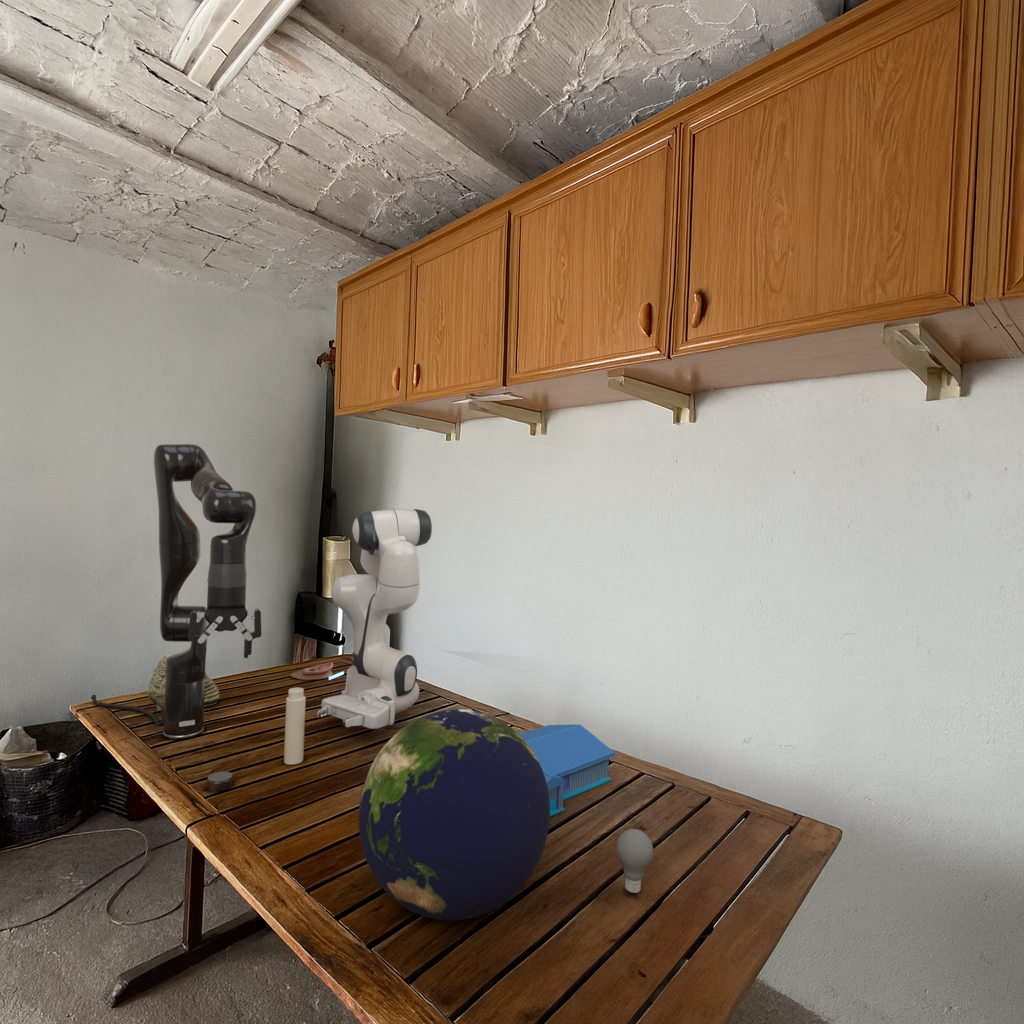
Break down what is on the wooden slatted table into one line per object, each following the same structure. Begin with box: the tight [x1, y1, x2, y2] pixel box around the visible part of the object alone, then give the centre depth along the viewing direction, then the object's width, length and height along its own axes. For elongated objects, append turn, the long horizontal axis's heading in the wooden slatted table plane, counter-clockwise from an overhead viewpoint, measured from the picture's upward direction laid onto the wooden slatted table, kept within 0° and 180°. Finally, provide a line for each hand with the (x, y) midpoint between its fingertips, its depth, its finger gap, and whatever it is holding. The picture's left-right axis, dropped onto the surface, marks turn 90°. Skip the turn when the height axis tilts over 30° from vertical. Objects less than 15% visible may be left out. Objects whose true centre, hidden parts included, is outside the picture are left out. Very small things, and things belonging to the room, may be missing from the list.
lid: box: [206, 771, 233, 793], centre depth 136 cm, size 5×5×2 cm
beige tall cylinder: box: [283, 687, 307, 765], centre depth 151 cm, size 4×4×17 cm
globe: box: [358, 708, 551, 922], centre depth 100 cm, size 30×30×30 cm
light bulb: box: [615, 828, 654, 894], centre depth 106 cm, size 6×6×10 cm
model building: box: [518, 723, 615, 817], centre depth 141 cm, size 39×24×10 cm, turn 132°
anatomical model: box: [290, 661, 334, 681], centre depth 221 cm, size 13×4×12 cm
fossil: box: [147, 654, 221, 712], centre depth 185 cm, size 9×18×15 cm, turn 132°
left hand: (224, 658), depth 136 cm, fingers open, 8 cm apart
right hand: (331, 719), depth 161 cm, fingers open, 8 cm apart
